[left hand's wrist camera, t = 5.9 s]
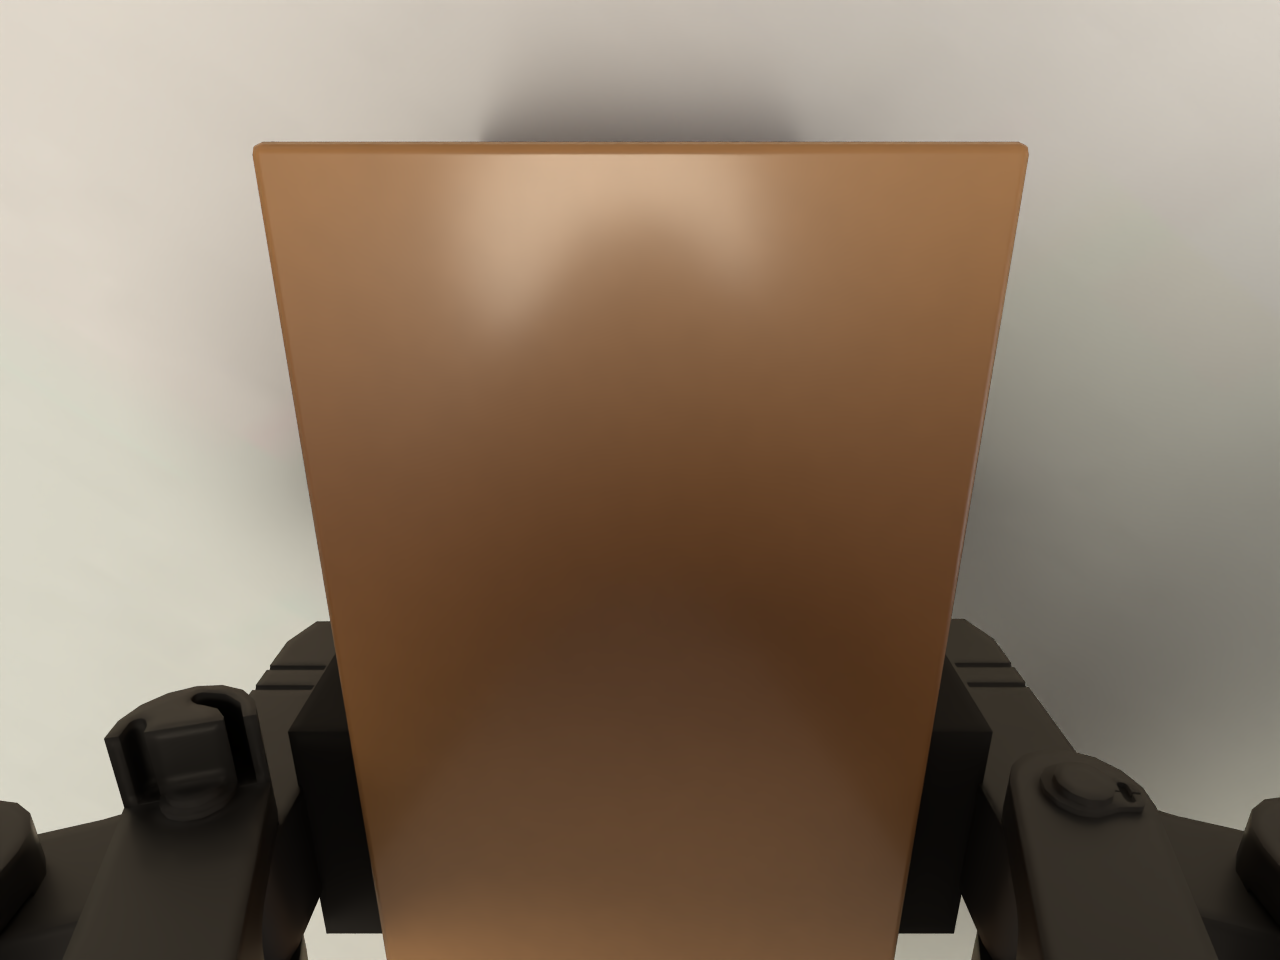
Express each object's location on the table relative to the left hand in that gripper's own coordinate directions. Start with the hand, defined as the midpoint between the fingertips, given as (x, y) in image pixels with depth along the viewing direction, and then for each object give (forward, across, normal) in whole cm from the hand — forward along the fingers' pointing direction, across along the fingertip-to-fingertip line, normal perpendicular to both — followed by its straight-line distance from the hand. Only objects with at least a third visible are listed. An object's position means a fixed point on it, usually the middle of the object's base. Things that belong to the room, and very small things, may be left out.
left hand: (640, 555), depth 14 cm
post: (+1, 0, -26) cm, 26 cm away
